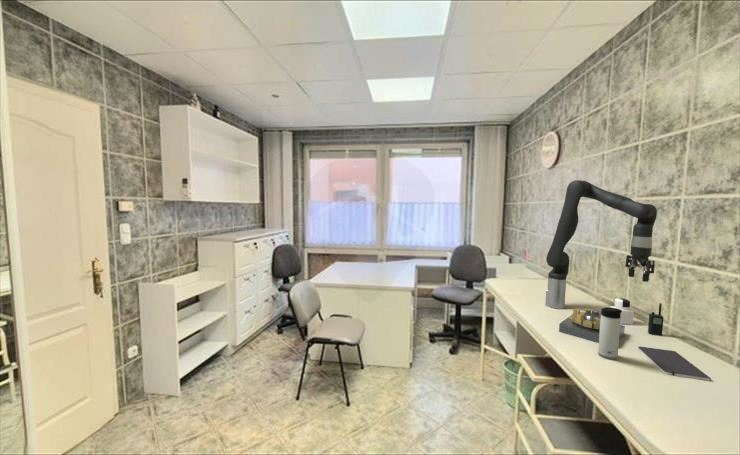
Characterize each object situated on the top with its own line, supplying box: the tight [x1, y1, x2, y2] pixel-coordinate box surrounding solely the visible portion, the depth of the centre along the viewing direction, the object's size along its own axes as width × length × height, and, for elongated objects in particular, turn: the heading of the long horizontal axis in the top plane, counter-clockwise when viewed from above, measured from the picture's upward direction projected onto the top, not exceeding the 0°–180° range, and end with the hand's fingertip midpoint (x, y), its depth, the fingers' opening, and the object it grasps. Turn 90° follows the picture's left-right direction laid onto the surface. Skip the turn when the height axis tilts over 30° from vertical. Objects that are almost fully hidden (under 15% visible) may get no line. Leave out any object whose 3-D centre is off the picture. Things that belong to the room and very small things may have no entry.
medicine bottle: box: [609, 297, 635, 325], centre depth 162 cm, size 7×7×12 cm
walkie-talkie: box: [647, 303, 664, 337], centre depth 146 cm, size 5×3×15 cm
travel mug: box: [597, 306, 622, 361], centre depth 124 cm, size 6×7×20 cm
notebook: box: [637, 345, 712, 382], centre depth 120 cm, size 13×2×21 cm
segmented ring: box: [571, 305, 605, 329], centre depth 150 cm, size 16×24×4 cm
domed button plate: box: [558, 312, 626, 344], centre depth 147 cm, size 21×21×8 cm
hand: (638, 279), depth 149 cm, fingers open, 8 cm apart
